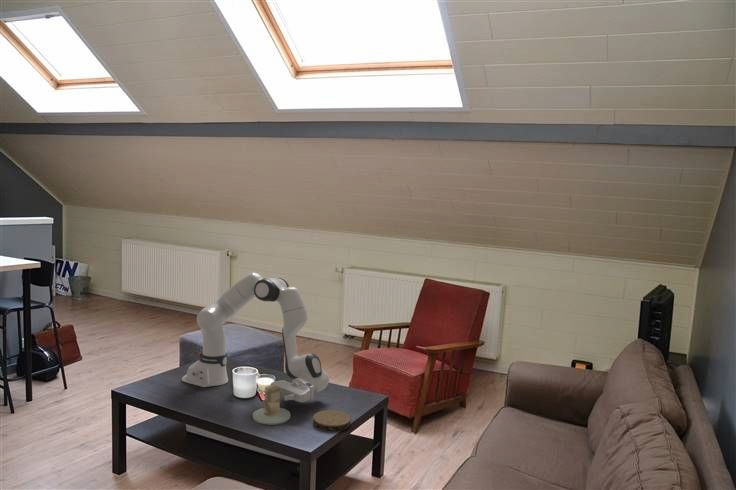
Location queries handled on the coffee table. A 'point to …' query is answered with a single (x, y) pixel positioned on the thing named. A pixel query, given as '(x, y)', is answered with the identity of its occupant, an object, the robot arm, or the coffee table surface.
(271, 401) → the birch block
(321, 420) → the brown round disc
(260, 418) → the dish
